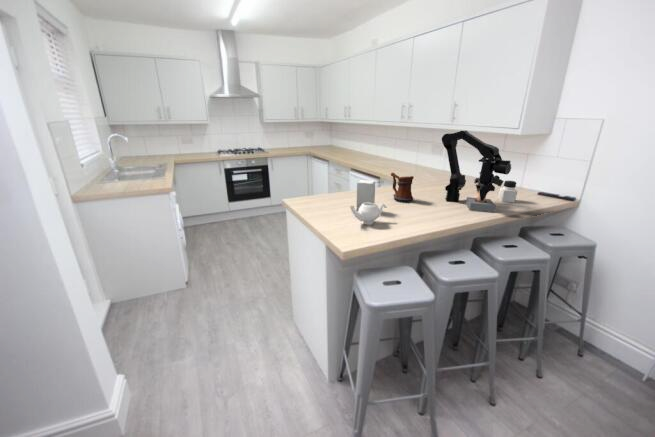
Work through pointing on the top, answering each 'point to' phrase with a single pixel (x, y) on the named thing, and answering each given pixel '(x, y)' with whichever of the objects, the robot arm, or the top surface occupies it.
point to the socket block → (480, 205)
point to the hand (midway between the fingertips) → (480, 199)
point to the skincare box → (365, 192)
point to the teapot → (368, 212)
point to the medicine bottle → (508, 192)
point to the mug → (402, 189)
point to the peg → (480, 199)
